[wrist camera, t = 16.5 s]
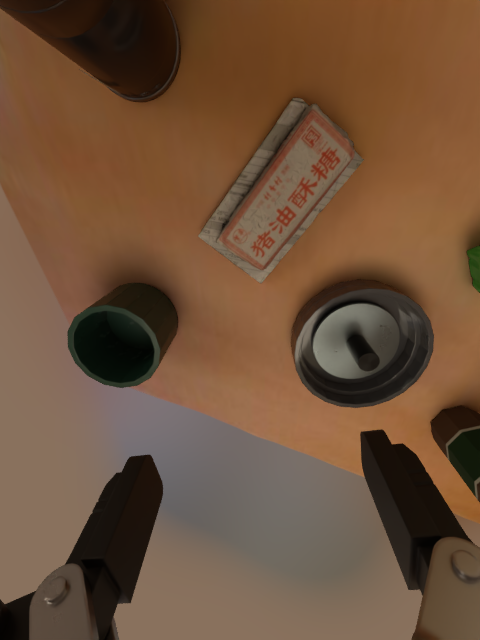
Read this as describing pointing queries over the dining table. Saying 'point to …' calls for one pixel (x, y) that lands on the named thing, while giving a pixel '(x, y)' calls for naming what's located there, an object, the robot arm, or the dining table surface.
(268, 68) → the dining table surface
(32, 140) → the dining table surface
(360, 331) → the lid
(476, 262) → the fruit basket
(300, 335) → the pan
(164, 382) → the dining table surface
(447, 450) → the beer bottle
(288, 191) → the packaged product
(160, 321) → the pot
